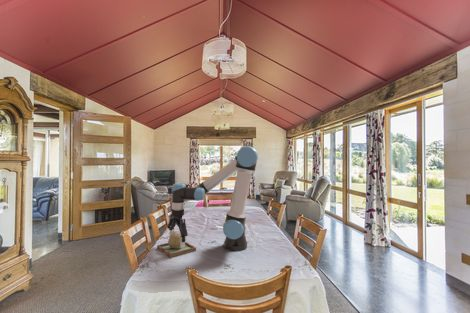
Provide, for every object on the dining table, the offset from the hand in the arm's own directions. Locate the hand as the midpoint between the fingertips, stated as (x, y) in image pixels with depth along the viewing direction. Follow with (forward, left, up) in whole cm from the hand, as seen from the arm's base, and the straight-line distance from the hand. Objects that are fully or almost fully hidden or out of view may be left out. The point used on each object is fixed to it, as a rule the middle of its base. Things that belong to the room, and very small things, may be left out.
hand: (176, 243), depth 145 cm
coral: (0, 0, -3) cm, 3 cm away
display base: (0, 0, -4) cm, 4 cm away
